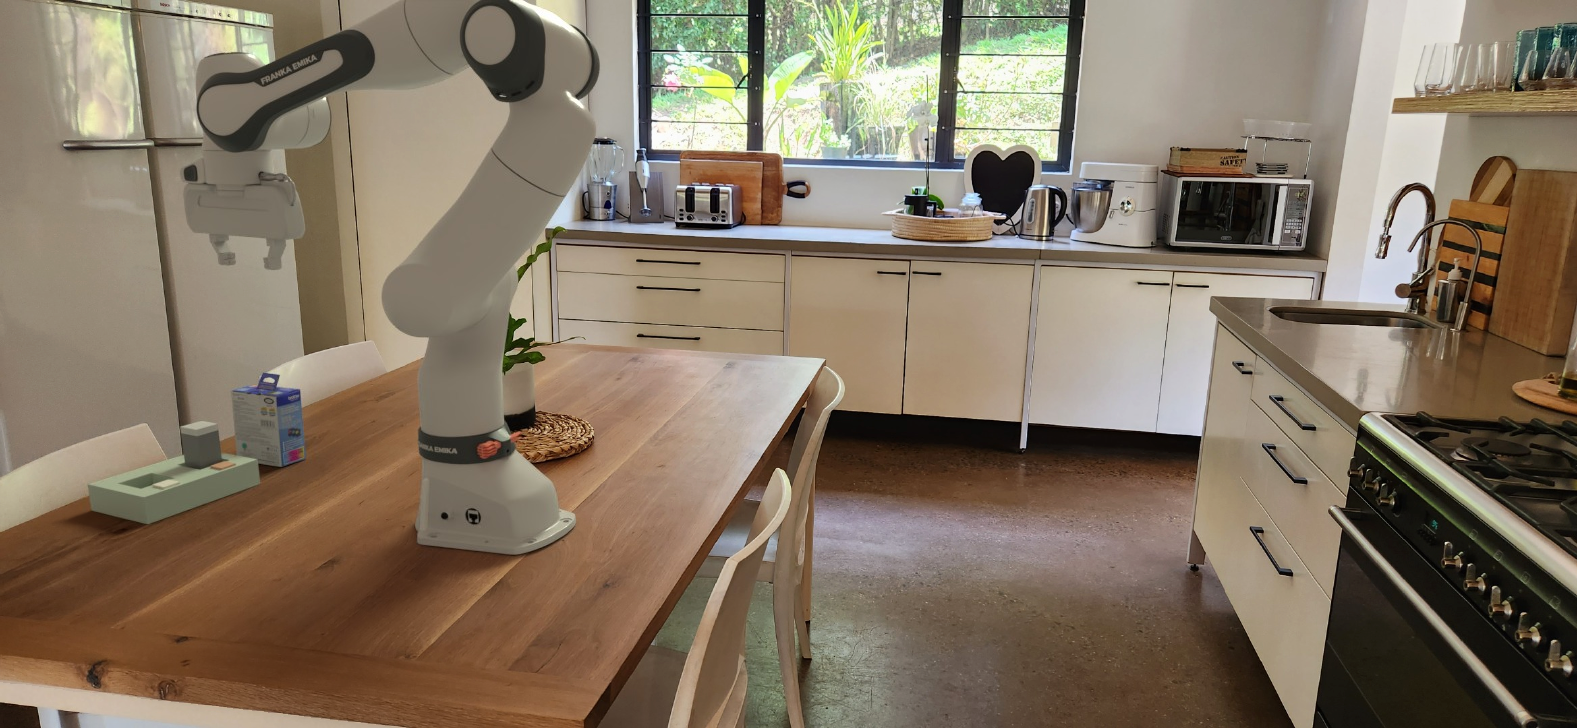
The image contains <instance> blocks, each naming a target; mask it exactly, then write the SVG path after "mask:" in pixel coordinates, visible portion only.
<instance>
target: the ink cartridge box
mask: <svg viewBox="0 0 1577 728" xmlns="http://www.w3.org/2000/svg"><path fill="white" fill-rule="evenodd" d="M280 376H281V374H277V373H269V372H262V374H261V375H260V379H259V381H258V384H251V385H247V386H242V387H240V388H237V389H233V390H231V391H230V394H231V404H232V405H231V406H232V416H233V417H232V418H233V428H234V442H235V452H236V454H235V455H237V456H242V457H247V458H252V459H257V460H258V465H260V464H261V465H267V466H271V467H279V468H283V467H285V466H286V467H287V466H289V465H291V464H295V463H299V462H301V461H304V460H307V454H306V442H305V432H304V431H305V430H304V419H303V418H304V417H303V407H302V406H303V404H302V397H301V394H302V393H301V389H300V388H293V387H292V388H291V387H283V386H278V384H279V380H280ZM268 378H271V379H272V380H274V381H273V382H269V381H264V380H265V379H268Z"/></svg>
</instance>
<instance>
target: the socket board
mask: <svg viewBox="0 0 1577 728" xmlns="http://www.w3.org/2000/svg"><path fill="white" fill-rule="evenodd" d="M221 455H222V462H221V463H217V464H214V465H211V466H210V467H207V468H204V469H201V470H199V469H194V468H189V467H185V460H184V454H182V455H178V456H176V457H173V458H169V459H165V460H162V461H159V462H157V463H153V464H148V465H146V466H143V467H139V468H136V469H133V470H129V471H126V472H123V473H120V474H115V475H113V476H110V477H107V478H103V479H100V480H95V481H93V482H91V483H87V490H88V497H89V504H90V509H91V511H93V512H97V513H100V514H105V515H109V516H112V517H116V518H120V519H124V520H129V521H133V522H138V523H141V524H144V525H150V524H152V523H155V522H158V521H161V520H164V519H166V518H169V517H172V516H176V515H178V514H181V513H183V512H186V511H188V510H192V509H195V508H198V507H200V506H202V505H206V504H208V503H211V502H214V501H217V500H219V499H223V498H225V497H227V496H230V495H233V494H236V493H240V492H241V491H244V490H247V489H250V488H253V487H256V486H258V485H261V479H260V470H259V464H258V460H257V459H252V458H247V457H242V456H237V454H232V453H227V452H223V451H221Z"/></svg>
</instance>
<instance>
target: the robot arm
mask: <svg viewBox="0 0 1577 728" xmlns="http://www.w3.org/2000/svg"><path fill="white" fill-rule="evenodd" d="M600 67H601V64H600V56H599V54H598V50H597V49H596V46H595V45H594V43H593V42H592V40H591V39H590V37H588V35H586V33H585V32H583V30H581V29H580V28H578V27H577V26H575V25H573V24H570V23H569V22H566V21H565V20H563V19H562V18H560V17H559V16H558V15H557V14H555V13H554V12H552V11H550V10H548V9H546V8H543V7H541V6H538V5H535V4H532V3H529V2H527V1H525V0H398V1H395V2H394V3H392V4H391V5H389V6H387V7H386V8H382V10H379V11H377V12H376V13H375V14H374V13H373V14H372V15H370V16H369V17H367V18H365V19H363V20H361V21H359V22H358V23H355V24H352V25H350V26H348V27H346V28H345V29H342V30H340V31H338V32H337V33H334V34H332V35H330V36H328V37H326V38H322V39H320V40H318V41H315V42H313V43H311V44H308V45H306V46H303V47H302V48H300V49H297V50H295V51H292V52H291V53H289V54H286V55H284V56H282V57H280V58H278V59H275V60H273V61H271V62H269V63H264V62H263V61H262V60H261V58H260V57H258V56H257V55H255V54H252V53H249V52H243V51H241V52H240V51H231V52H218V53H213V54H212V53H211V54H210V55H207V56H205V57H203V58H202V59H200V60H199V62H198V65H197V67H196V75H195V99H196V100H195V101H196V105H195V106H196V107H195V108H196V115H197V120H198V123H199V125H200V128H201V129H202V134H203V137H202V143H201V153H202V157H201V158H198V159H197V160H195V161H193V162H191V163H188V164H186V165H184V166H182V167H181V168H180V169H179V176H180V180H181V182H183V183H185V186H184V187H183V193H182V196H183V206H184V212H185V218H186V223H187V226H188V228H189V229H190V230H191V232H192V233H195V234H207V235H208V237H209V243H210V244H211V246H212V248H213V250H214V251H215V253H216V254H217V255H216V256H217V262H218V264H219V265H220V266H234V265H236V263H237V260H236V252H232V251H231V248H230V247H229V243H228V242H227V241H230V237H229V236H232V237H245V238H255V239H265V241H266V246H267V247H269V249H268V253H267V256H266V257H263V259H262V260H263V263H264V265H263V267H264V269H265V270H269V271H277V270H278V271H279V270H281V269H282V268H283V265H282V263H283V262H282V257H283V254H284V253H285V249H286V247H287V240H297V239H302V238H303V236H304V235H305V232H306V225H305V217H304V212H303V207H302V204H301V199H300V197H299V196H300V195H299V193H298V191H297V190H296V189H297V187H296V184H295V182H294V181H293V180H292V179H291V178H290V177H289V176H288V175H287V174H286V173H283V172H278V173H277V172H276V173H275V166H274V154H273V153H274V152H273V150H293V149H298V150H299V149H307V148H310V147H313V146H317V145H319V144H321V143H322V142H323V141H324V140H325V139H326V138H327V136H328V134H329V132H330V130H331V127H332V126H331V125H332V119H333V117H332V110H331V106H330V103H329V100H328V98H327V97H330V96H333V95H336V94H340V93H346V92H352V91H367V90H368V91H371V90H393V91H395V90H396V91H399V90H402V91H405V90H407V91H408V90H415V89H416V90H417V89H420V88H424V87H428V86H431V85H435V84H438V83H441V82H444V81H445V80H448V79H450V78H452V77H454V76H455V75H457V74H459V73H461V72H463V71H464V70H466V69H469V68H471V69H472V70H473V72H474V74H476V75H477V77H479V79H480V80H481V81H482V82H483V83H484V84H485V86H486V88H487V89H488V91H489V93H490V95H492V96H493V98H494V99H495V100H496V101H498V102H501V103H508V105H509V114H508V118H507V120H506V123H505V125H504V127H503V129H502V130H501V132H499V134H498V136H497V138H496V139H495V140H494V142H493V144H492V145H491V147H490V149H489V150H488V152H487V153H486V155H485V157H484V158H483V159H482V161H481V162H480V165H479V166H478V168H477V169H476V171H475V173H474V174H473V175H472V177H471V179H470V181H469V182H468V184H467V185H466V186H465V188H464V190H463V191H462V193H461V194H460V195H459V197H458V198H457V200H456V201H455V202H454V203H453V204H452V206H451V207H449V209H448V210H447V211H446V212H445V213H444V215H442V217H441V218H440V219H439V220H438V221H437V222H436V223H435V224H434V225H433V227H431V229H430V230H429V231H427V232H428V233H427V234H425V236H424V237H423V238H422V239H421V241H420V242H419V243H418V244H417V246H416V247H415V248H414V249H413V250H412V251H411V253H410V254H409V255H408V256H407V257H406V258H405V259H404V260H403V261H402V262H401V263H400V264H398V266H396V267H395V268H394V269H393V270H392V271H391V272H390V273H389V274H388V275H387V277H386V279H385V280H384V283H383V285H382V288H381V303H382V308H383V311H384V314H385V316H386V317H387V319H388V320H389V322H390V323H391V324H392V325H393V326H394V327H395V328H396V329H397V330H398V331H400V332H401V333H403V334H405V335H407V336H411V337H414V338H425V339H427V338H428V341H427V345H426V349H425V353H424V357H423V359H422V361H421V363H420V365H419V368H418V370H417V393H418V405H419V419H420V427H418V429H417V445H418V454H419V455H420V456H421V459H422V460H421V462H422V463H421V465H422V466H421V467H422V469H421V482H420V497H419V505H418V510H417V511H418V512H417V515H416V516H417V517H416V520H415V524H414V527H415V529H416V531H417V535H416V537H417V538H416V543H417V544H418V545H423V546H433V547H439V548H440V547H442V548H450V549H459V550H468V551H478V552H483V553H484V552H486V553H493V554H494V553H495V554H503V555H513V556H514V555H521V554H526V553H529V552H532V551H535V550H538V549H540V548H543V547H546V546H547V545H550V544H551V543H554V542H555V541H557V540H558V539H560V538H562V537H564V536H565V535H566V534H568V533H569V532H570V531H571V530H572V529H573V528H574V527H575V525H576V524H577V519H576V514H575V513H574V512H571V511H568V510H564V509H562V508H560V507H559V506H560V505H559V500H558V499H559V497H558V494H557V490H556V487H555V484H554V483H553V481H552V480H551V479H550V478H548V477H547V476H546V475H545V474H544V473H542V472H541V471H540V470H539V469H538V468H537V467H535V466H534V464H532V463H531V462H530V461H529V460H528V459H527V458H525V457H524V456H523V455H522V454H521V453H520V452H518V450H517V445H516V443H515V442H517V441H519V440H521V439H522V437H518V436H520V434H521V433H522V432H521V431H517V432H515V433H512V431H511V430H510V427H509V426H508V425H509V424H508V423H507V422H506V420H505V416H504V415H505V414H504V394H503V393H504V390H503V388H504V387H503V361H504V352H505V346H506V340H507V334H508V327H509V318H510V312H511V306H512V303H513V299H514V296H515V294H516V293H517V289H518V285H519V275H518V273H519V272H518V269H517V266H516V263H517V262H518V261H519V260H520V259H521V258H522V257H523V255H524V254H525V253H526V252H527V251H528V250H529V249H531V248H532V246H534V245H535V244H536V242H537V241H538V239H539V238H540V236H541V235H542V234H543V231H545V229H546V228H547V225H548V224H549V223H550V221H551V219H552V218H553V216H554V215H555V213H556V212H557V210H558V209H559V207H560V206H561V204H562V202H563V201H564V200H565V198H566V196H567V195H568V194H569V192H570V191H571V189H572V187H573V185H574V184H575V182H576V180H577V178H578V176H579V175H580V173H581V171H582V170H583V167H584V165H585V163H586V161H587V158H588V157H589V155H590V152H591V150H592V147H593V144H594V142H595V138H596V136H597V125H596V121H595V119H594V117H593V115H592V113H591V112H590V110H589V108H587V107H586V105H585V104H584V103H583V102H581V101H580V100H582V99H583V98H585V97H586V96H587V95H589V94H590V92H592V91H593V89H594V87H595V86H596V84H597V82H598V79H599V77H600V71H601V69H600Z"/></svg>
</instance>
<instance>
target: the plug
mask: <svg viewBox="0 0 1577 728" xmlns="http://www.w3.org/2000/svg"><path fill="white" fill-rule="evenodd" d="M179 429H180V435H181V442H182V444H181V445H182V451H183V455H184V460H185V467H189V468H194V469H199V470H201V469H204V468H207V467H210V466H211V465H214V464H217V463H221V462H222V455H221V452H222V448H221V441H220V432H219V431H220V430H219V423H215V422H209V421H206V420H205V421H204V420H200V421H195V422H192V423H189V424H185V425H181V426H180V427H179Z"/></svg>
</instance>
